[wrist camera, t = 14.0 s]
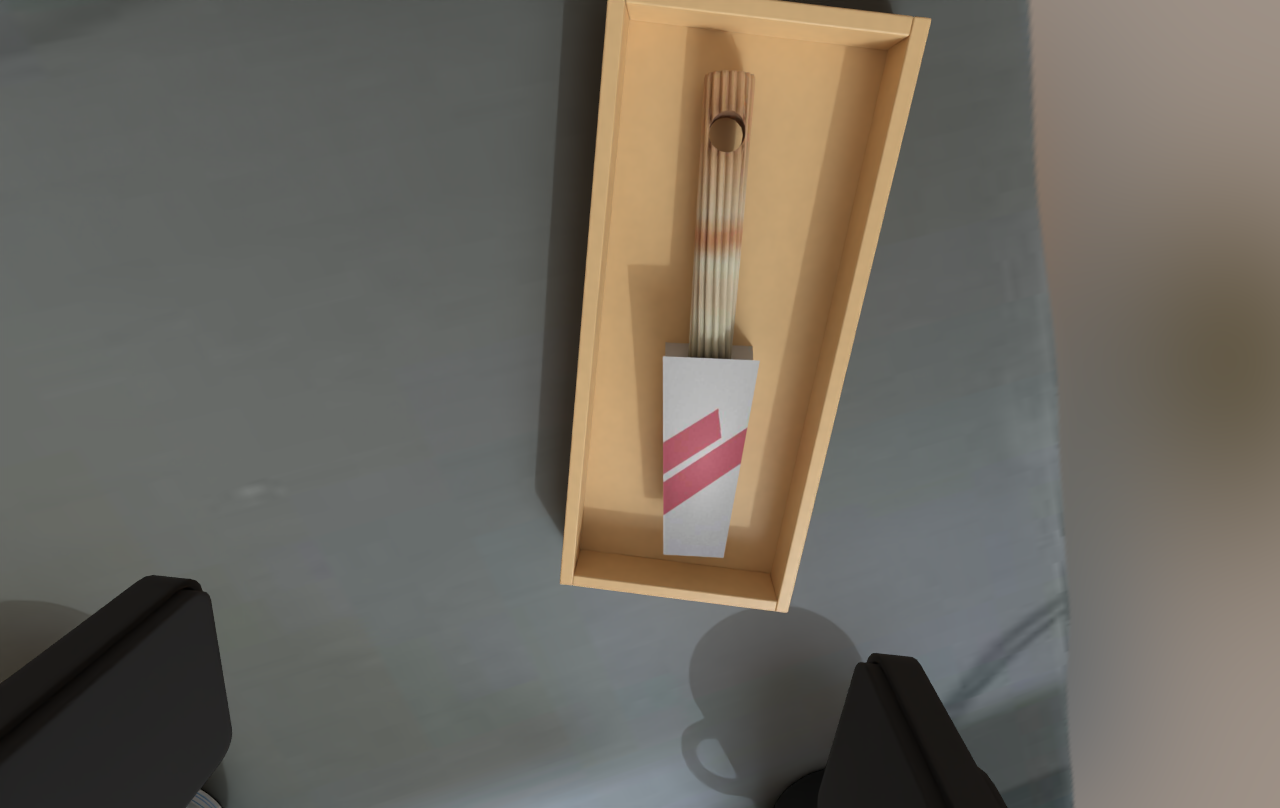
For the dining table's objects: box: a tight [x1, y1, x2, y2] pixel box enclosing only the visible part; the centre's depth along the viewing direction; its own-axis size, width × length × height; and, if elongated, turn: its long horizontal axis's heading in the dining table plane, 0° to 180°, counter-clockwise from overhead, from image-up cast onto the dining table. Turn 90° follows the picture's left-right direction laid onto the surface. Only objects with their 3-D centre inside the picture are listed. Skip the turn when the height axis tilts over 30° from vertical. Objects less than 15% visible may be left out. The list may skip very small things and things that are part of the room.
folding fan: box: [663, 70, 760, 558], centre depth 25 cm, size 4×3×20 cm
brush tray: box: [560, 0, 931, 613], centre depth 25 cm, size 11×24×3 cm, turn 173°
